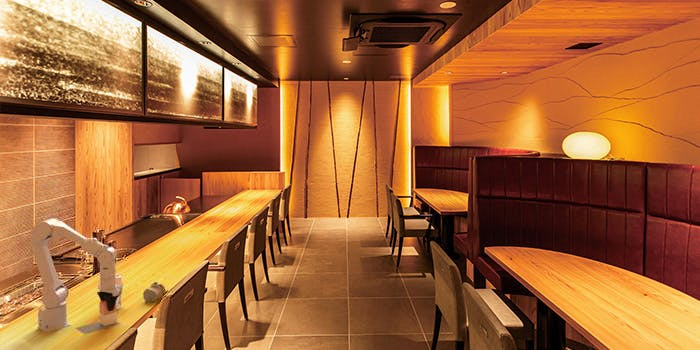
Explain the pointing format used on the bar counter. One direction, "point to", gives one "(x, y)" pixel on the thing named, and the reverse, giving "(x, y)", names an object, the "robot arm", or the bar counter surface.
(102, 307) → the terracotta block
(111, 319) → the cream block
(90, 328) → the baseplate
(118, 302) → the beer glass
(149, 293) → the ceramic sculpture
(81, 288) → the bar counter surface
